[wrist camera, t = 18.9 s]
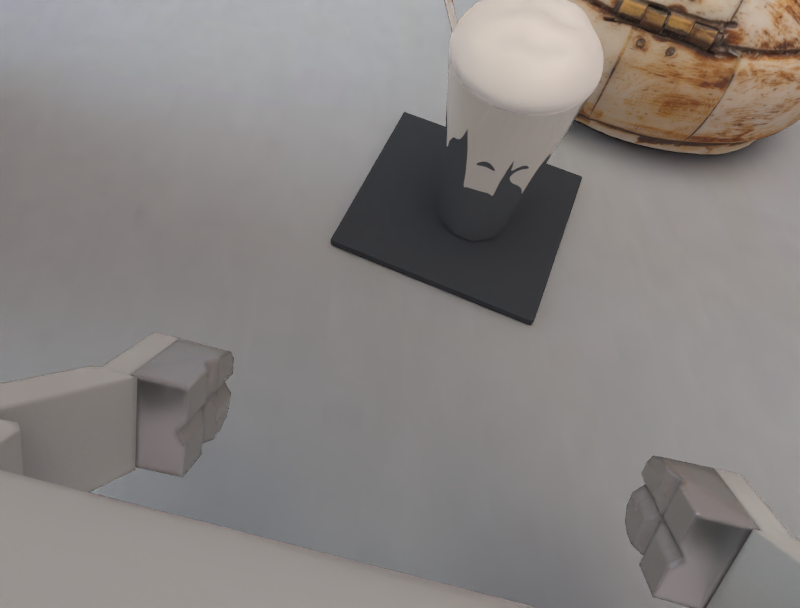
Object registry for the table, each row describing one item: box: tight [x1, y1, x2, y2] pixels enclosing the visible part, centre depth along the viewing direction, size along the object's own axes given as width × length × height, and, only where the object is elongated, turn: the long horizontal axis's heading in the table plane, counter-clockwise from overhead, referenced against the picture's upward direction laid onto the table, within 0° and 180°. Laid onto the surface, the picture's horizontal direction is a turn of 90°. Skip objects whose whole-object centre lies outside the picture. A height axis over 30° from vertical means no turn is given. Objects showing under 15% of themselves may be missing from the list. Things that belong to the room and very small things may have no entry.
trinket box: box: [568, 0, 800, 154], centre depth 23 cm, size 13×15×8 cm
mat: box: [331, 112, 582, 325], centre depth 22 cm, size 9×8×1 cm
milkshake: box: [439, 0, 604, 242], centre depth 17 cm, size 4×5×10 cm
